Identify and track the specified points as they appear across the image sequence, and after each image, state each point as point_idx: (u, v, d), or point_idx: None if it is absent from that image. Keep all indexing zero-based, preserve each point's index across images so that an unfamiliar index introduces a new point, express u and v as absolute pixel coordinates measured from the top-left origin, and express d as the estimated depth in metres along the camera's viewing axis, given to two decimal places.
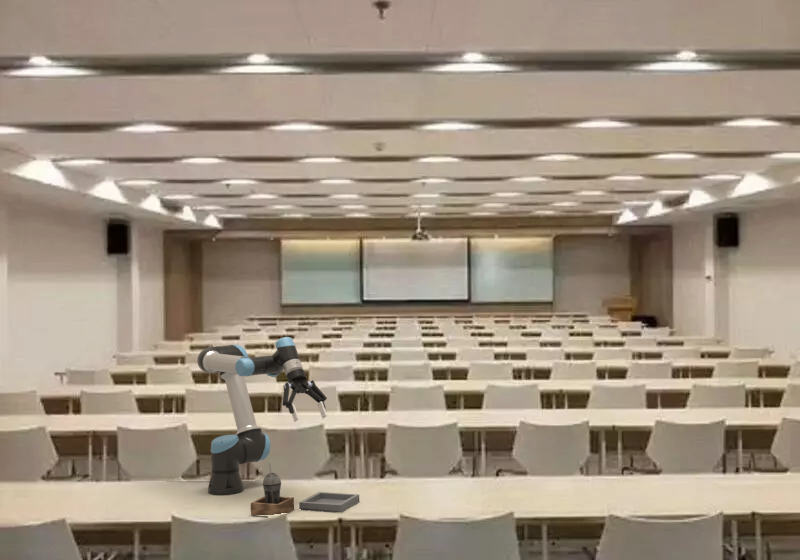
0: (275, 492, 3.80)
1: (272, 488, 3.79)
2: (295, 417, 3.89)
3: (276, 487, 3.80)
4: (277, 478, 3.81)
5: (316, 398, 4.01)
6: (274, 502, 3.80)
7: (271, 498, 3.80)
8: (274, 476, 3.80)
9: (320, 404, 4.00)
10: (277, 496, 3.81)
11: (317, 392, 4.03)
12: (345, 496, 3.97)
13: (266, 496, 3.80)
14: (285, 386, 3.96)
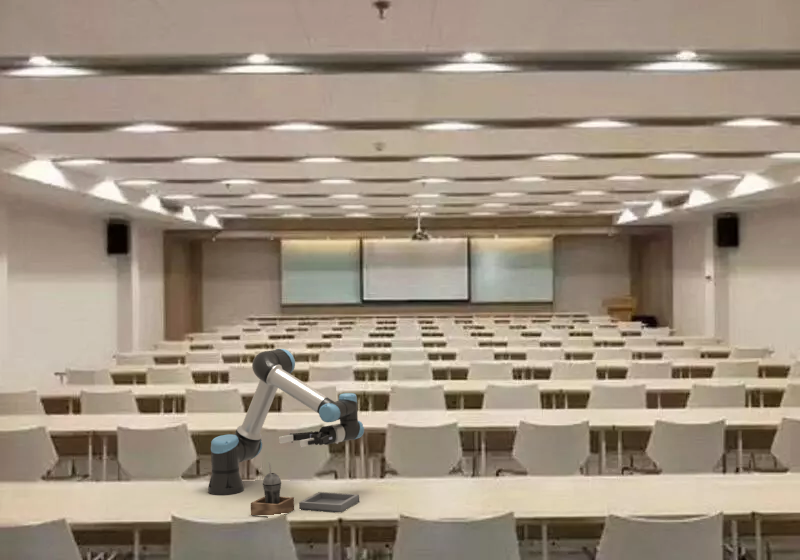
0: (275, 492, 3.80)
1: (272, 488, 3.79)
2: (303, 444, 3.84)
3: (276, 487, 3.80)
4: (277, 478, 3.81)
5: (298, 438, 3.99)
6: (274, 502, 3.80)
7: (271, 498, 3.80)
8: (274, 476, 3.80)
9: (291, 439, 3.97)
10: (277, 496, 3.81)
11: None
12: (345, 496, 3.97)
13: (266, 496, 3.80)
14: (330, 439, 3.94)
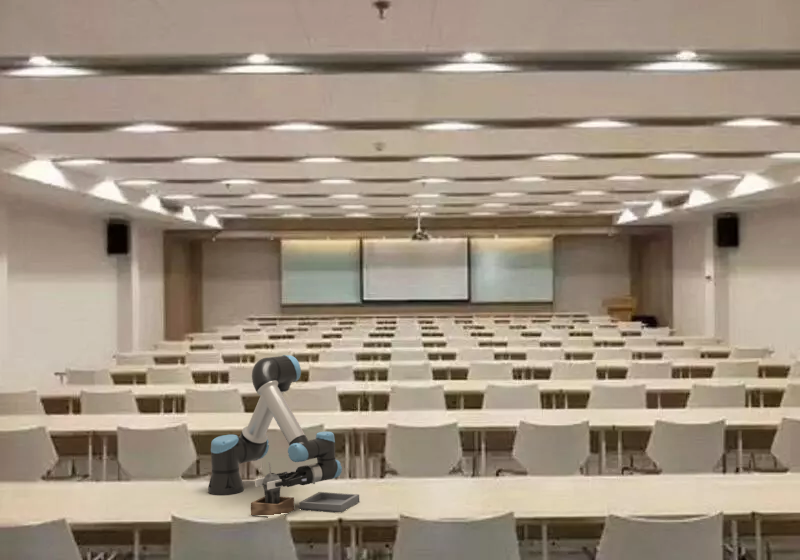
0: (275, 492, 3.80)
1: None
2: (270, 486, 3.76)
3: None
4: (277, 478, 3.81)
5: None
6: (274, 502, 3.80)
7: (271, 498, 3.80)
8: (274, 476, 3.80)
9: None
10: (277, 496, 3.81)
11: None
12: (345, 496, 3.97)
13: (266, 496, 3.80)
14: (303, 480, 3.85)
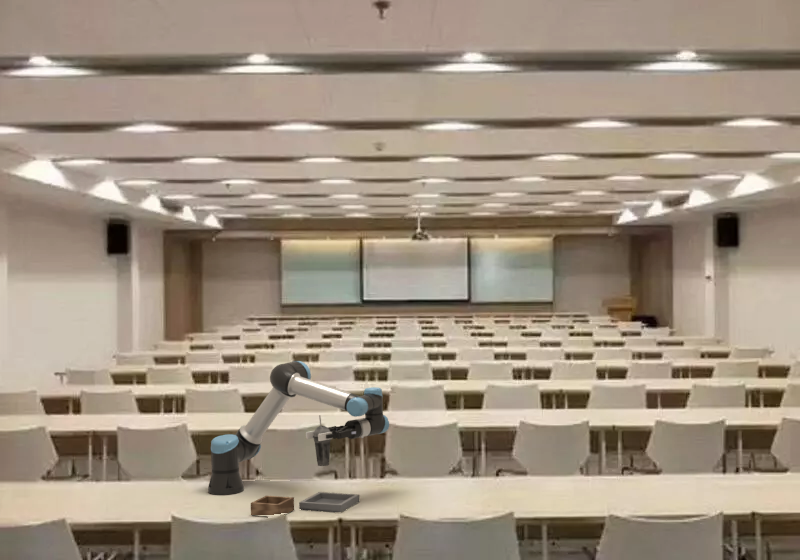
0: (326, 444, 3.87)
1: (323, 440, 3.86)
2: (321, 438, 3.84)
3: None
4: (327, 430, 3.88)
5: None
6: (325, 454, 3.87)
7: (322, 450, 3.87)
8: (325, 429, 3.87)
9: None
10: (327, 448, 3.88)
11: None
12: (345, 496, 3.97)
13: (317, 448, 3.87)
14: (353, 433, 3.92)
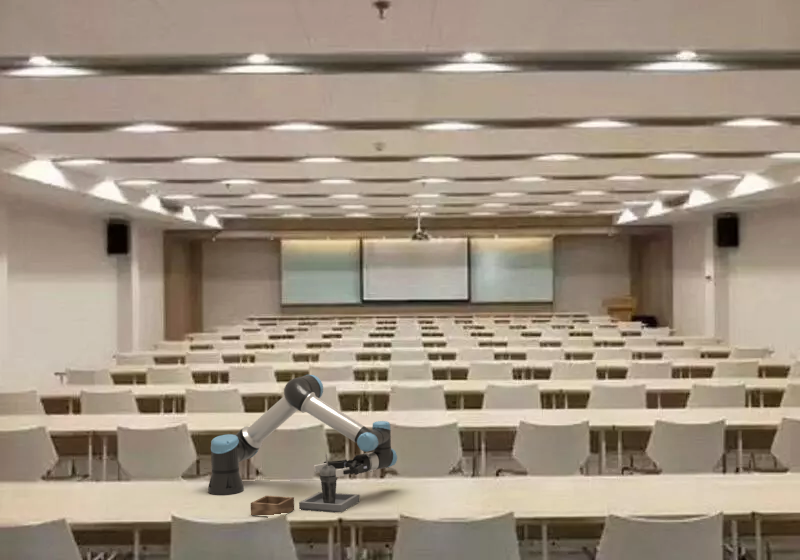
0: (332, 483, 3.89)
1: (329, 480, 3.88)
2: (339, 474, 3.85)
3: (333, 478, 3.88)
4: (334, 470, 3.89)
5: None
6: (331, 493, 3.89)
7: (328, 489, 3.88)
8: (331, 468, 3.89)
9: None
10: (334, 487, 3.89)
11: None
12: (345, 496, 3.97)
13: (323, 487, 3.89)
14: (365, 468, 3.95)
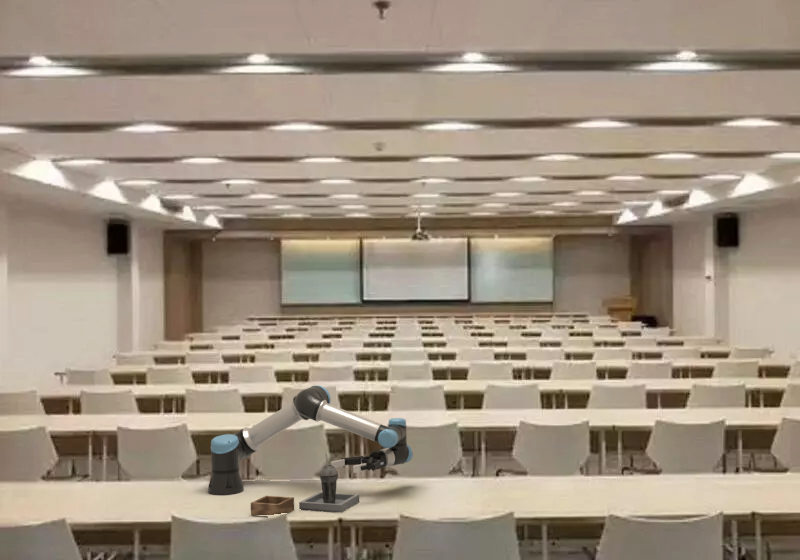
0: (332, 483, 3.89)
1: (329, 480, 3.88)
2: (356, 469, 3.91)
3: (333, 478, 3.89)
4: (334, 470, 3.90)
5: (349, 462, 4.06)
6: (331, 493, 3.89)
7: (328, 489, 3.88)
8: (331, 468, 3.89)
9: (342, 464, 4.04)
10: (334, 487, 3.90)
11: None
12: (345, 496, 3.97)
13: (323, 487, 3.89)
14: (381, 464, 4.01)
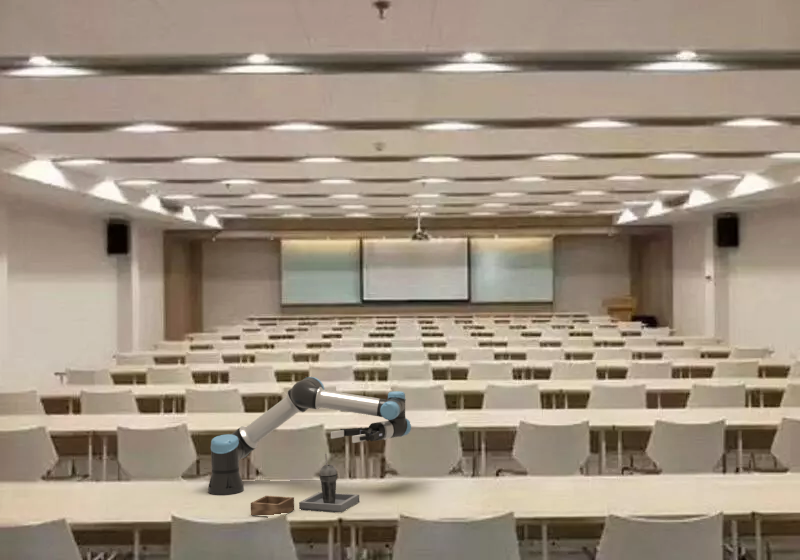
0: (332, 483, 3.89)
1: (329, 479, 3.88)
2: (355, 440, 3.97)
3: (333, 478, 3.89)
4: (333, 469, 3.90)
5: (348, 433, 4.11)
6: (331, 493, 3.89)
7: (328, 489, 3.89)
8: (331, 468, 3.89)
9: (341, 435, 4.10)
10: (334, 487, 3.90)
11: None
12: (345, 496, 3.97)
13: (323, 487, 3.89)
14: (380, 435, 4.06)
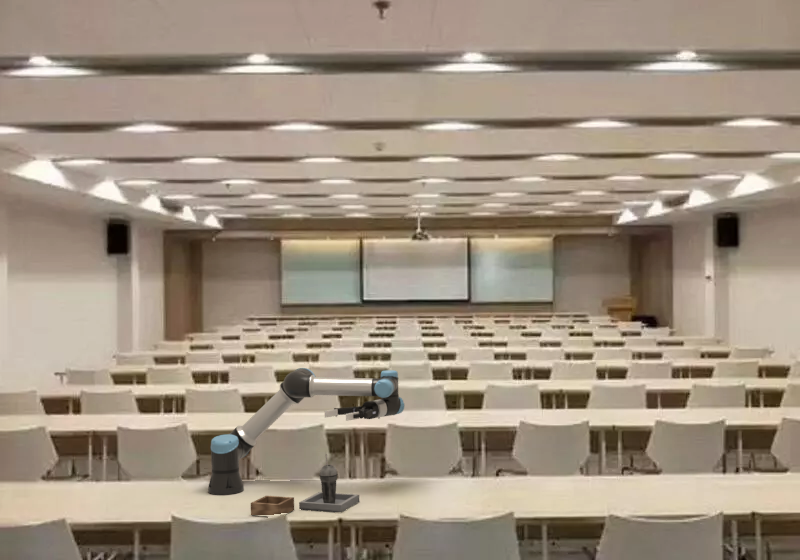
0: (332, 483, 3.89)
1: (329, 480, 3.88)
2: (349, 417, 3.99)
3: (333, 478, 3.89)
4: (334, 469, 3.90)
5: (342, 412, 4.14)
6: (331, 493, 3.89)
7: (328, 489, 3.88)
8: (331, 468, 3.89)
9: (335, 414, 4.12)
10: (334, 487, 3.90)
11: None
12: (345, 496, 3.97)
13: (323, 487, 3.89)
14: (373, 413, 4.09)
